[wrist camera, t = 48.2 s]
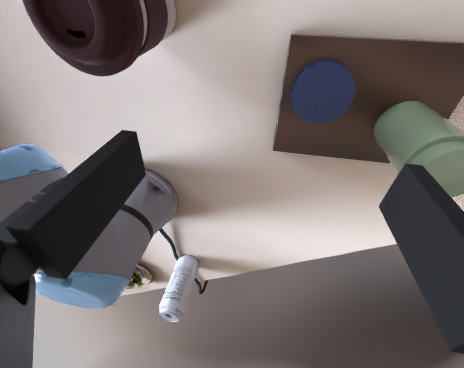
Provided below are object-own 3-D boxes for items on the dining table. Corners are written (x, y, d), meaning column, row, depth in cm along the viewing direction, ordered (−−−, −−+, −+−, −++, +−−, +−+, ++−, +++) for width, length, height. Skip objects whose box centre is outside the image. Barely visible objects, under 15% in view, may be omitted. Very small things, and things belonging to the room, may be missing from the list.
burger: (160, 280, 75) (150, 304, 69) (128, 278, 77) (116, 300, 72) (146, 258, 68) (134, 283, 62) (112, 256, 70) (96, 279, 65)
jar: (415, 150, 34) (465, 206, 25) (365, 145, 34) (395, 197, 25) (444, 102, 29) (518, 149, 20) (386, 98, 30) (431, 141, 21)
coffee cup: (130, -74, 25) (-1, -137, 13) (202, 1, 28) (147, 2, 16) (101, 13, 31) (-9, 21, 19) (164, 68, 34) (103, 104, 22)
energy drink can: (182, 265, 67) (161, 321, 55) (176, 253, 63) (152, 309, 52) (201, 267, 65) (184, 324, 54) (196, 254, 62) (177, 312, 50)
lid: (320, 44, 28) (322, 47, 26) (365, 83, 29) (370, 87, 28) (279, 97, 32) (278, 103, 31) (320, 128, 34) (322, 134, 32)
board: (414, 162, 36) (418, 166, 35) (273, 147, 39) (272, 151, 38) (488, 43, 26) (496, 45, 25) (290, 33, 28) (291, 34, 28)
